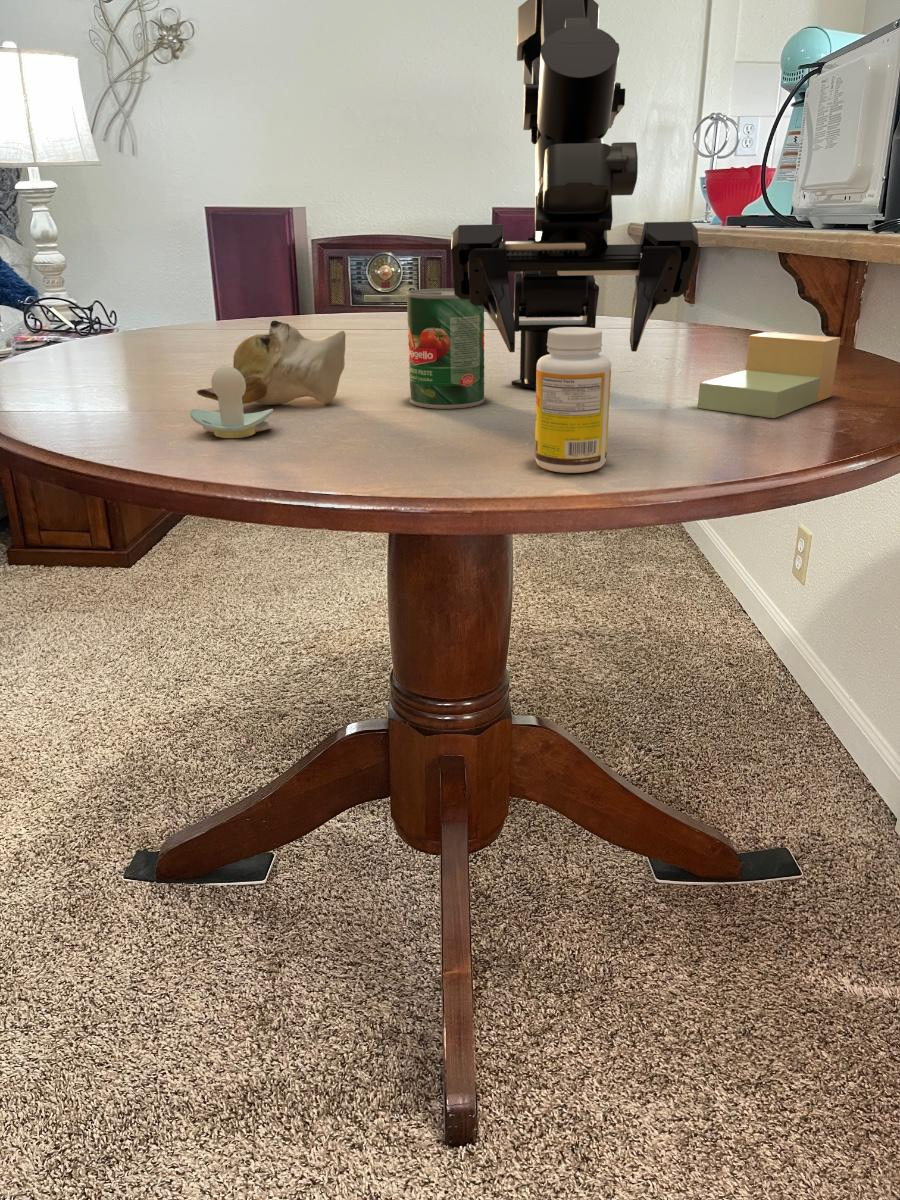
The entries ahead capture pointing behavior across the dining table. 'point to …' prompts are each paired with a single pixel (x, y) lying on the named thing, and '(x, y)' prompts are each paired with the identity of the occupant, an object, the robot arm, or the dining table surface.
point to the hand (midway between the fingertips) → (573, 348)
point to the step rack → (776, 376)
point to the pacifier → (230, 408)
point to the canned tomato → (445, 349)
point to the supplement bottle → (572, 401)
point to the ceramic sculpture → (287, 366)
